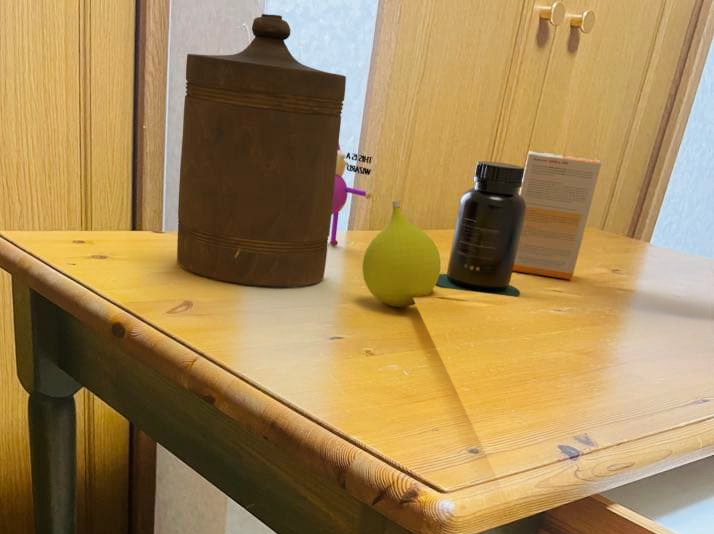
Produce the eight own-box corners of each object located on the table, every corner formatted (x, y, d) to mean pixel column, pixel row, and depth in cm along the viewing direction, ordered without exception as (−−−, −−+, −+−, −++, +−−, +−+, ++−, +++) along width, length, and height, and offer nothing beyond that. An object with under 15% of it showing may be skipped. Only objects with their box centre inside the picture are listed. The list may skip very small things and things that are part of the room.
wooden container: (273, 251, 94) (295, 22, 83) (352, 286, 84) (388, 29, 73) (151, 252, 86) (157, -1, 75) (221, 290, 76) (241, 3, 65)
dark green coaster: (509, 282, 95) (509, 280, 95) (528, 302, 87) (529, 300, 87) (425, 271, 95) (425, 269, 95) (437, 291, 86) (437, 289, 86)
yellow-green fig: (363, 291, 82) (379, 182, 77) (434, 303, 81) (455, 193, 77) (352, 307, 76) (369, 189, 71) (429, 320, 75) (452, 202, 70)
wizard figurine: (369, 253, 100) (386, 143, 94) (353, 255, 98) (369, 142, 92) (298, 234, 106) (310, 128, 100) (282, 235, 104) (292, 127, 98)
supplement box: (569, 274, 104) (600, 159, 98) (571, 281, 100) (603, 162, 94) (503, 263, 105) (528, 148, 99) (502, 269, 101) (528, 151, 95)
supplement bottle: (455, 273, 95) (478, 157, 89) (514, 286, 92) (542, 168, 86) (436, 283, 89) (459, 159, 83) (498, 296, 87) (527, 171, 81)
